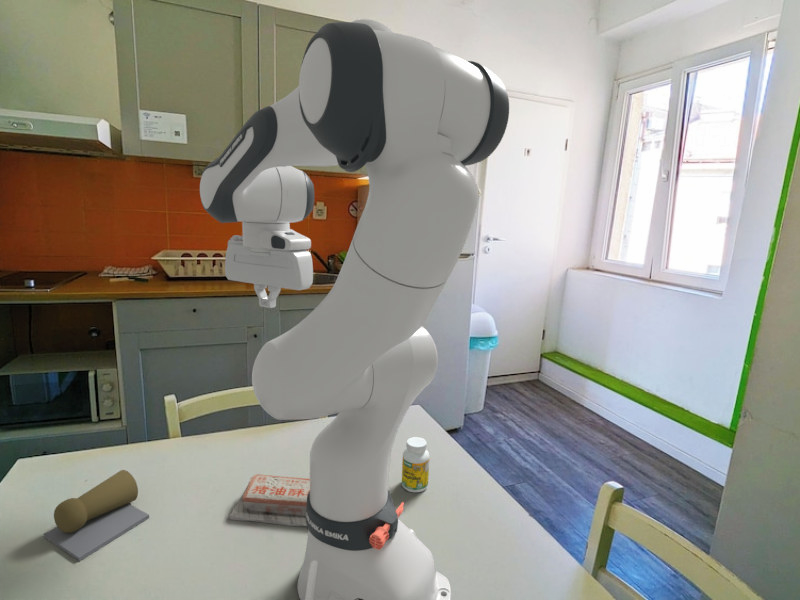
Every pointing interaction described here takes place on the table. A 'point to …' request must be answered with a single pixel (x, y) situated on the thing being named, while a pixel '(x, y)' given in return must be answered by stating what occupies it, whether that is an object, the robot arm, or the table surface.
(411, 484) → the supplement bottle
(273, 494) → the packaged product
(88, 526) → the mat
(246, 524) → the table surface
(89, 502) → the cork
